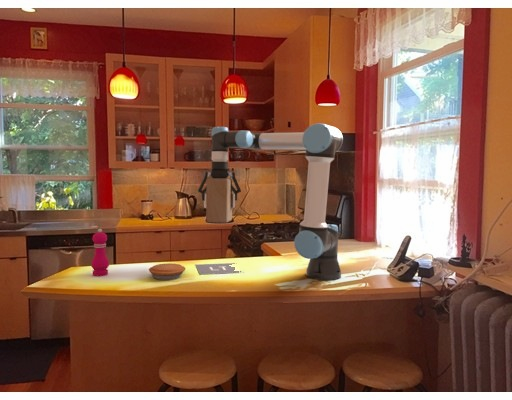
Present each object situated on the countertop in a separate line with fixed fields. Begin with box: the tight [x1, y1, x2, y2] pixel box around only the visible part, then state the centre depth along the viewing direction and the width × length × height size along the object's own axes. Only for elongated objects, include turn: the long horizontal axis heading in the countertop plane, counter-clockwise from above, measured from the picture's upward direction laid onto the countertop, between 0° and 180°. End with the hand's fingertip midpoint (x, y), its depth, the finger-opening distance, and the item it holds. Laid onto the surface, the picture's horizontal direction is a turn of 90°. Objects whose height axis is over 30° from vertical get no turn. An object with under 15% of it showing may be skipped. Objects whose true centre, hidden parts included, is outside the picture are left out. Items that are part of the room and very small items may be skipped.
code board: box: [195, 262, 240, 276], centre depth 198 cm, size 20×20×1 cm
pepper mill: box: [90, 228, 110, 277], centre depth 183 cm, size 7×7×20 cm
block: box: [205, 177, 233, 224], centre depth 196 cm, size 10×10×20 cm
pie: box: [148, 263, 186, 281], centre depth 182 cm, size 15×16×5 cm
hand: (219, 207), depth 196 cm, fingers closed on block, 12 cm apart
